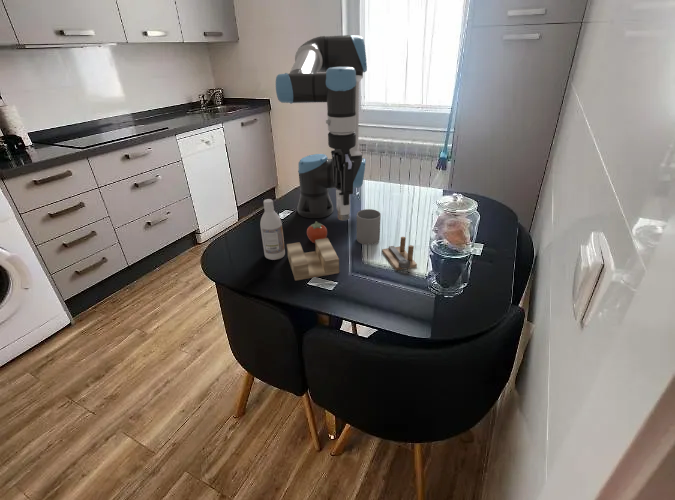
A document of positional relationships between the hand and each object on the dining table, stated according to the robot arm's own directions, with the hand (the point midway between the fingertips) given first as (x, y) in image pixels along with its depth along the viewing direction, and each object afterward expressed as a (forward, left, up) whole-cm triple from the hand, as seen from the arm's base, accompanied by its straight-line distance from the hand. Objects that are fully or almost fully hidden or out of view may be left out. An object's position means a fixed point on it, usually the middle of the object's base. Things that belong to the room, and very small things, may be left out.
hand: (343, 211), depth 109 cm
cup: (-13, +13, -19) cm, 26 cm away
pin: (0, 0, -2) cm, 2 cm away
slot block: (-2, -10, -18) cm, 21 cm away
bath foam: (-12, -21, -19) cm, 30 cm away
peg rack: (+3, +18, -18) cm, 26 cm away
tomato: (-17, -5, -19) cm, 25 cm away
